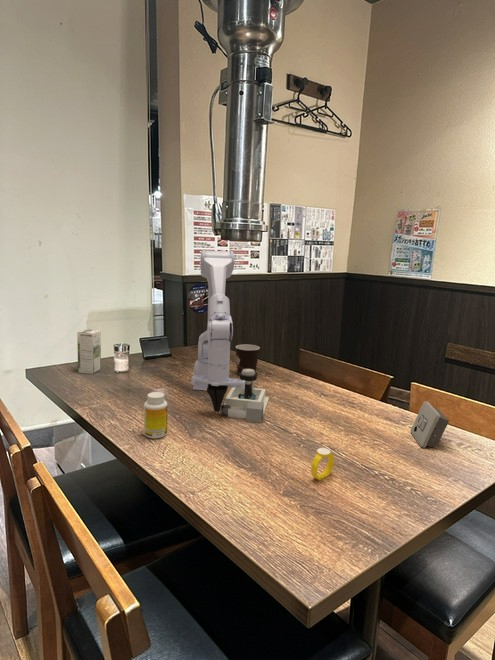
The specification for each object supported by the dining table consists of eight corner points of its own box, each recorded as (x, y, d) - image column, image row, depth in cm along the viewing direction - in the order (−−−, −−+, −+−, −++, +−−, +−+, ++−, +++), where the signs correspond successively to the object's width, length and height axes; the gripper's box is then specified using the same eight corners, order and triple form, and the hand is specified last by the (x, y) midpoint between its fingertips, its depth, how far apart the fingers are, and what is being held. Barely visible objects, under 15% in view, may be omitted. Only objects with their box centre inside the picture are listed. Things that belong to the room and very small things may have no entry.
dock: (216, 418, 117) (216, 404, 116) (230, 394, 135) (230, 383, 134) (260, 423, 115) (261, 409, 114) (268, 398, 133) (269, 386, 132)
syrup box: (86, 368, 155) (84, 328, 152) (101, 369, 154) (100, 329, 151) (77, 373, 149) (76, 331, 146) (93, 374, 148) (92, 333, 145)
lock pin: (219, 416, 118) (220, 407, 117) (222, 412, 120) (222, 404, 120) (250, 419, 117) (251, 410, 116) (252, 416, 119) (252, 407, 119)
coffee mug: (258, 378, 152) (259, 350, 150) (234, 377, 152) (235, 349, 150) (258, 368, 164) (259, 343, 162) (235, 367, 164) (236, 342, 162)
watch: (318, 485, 87) (319, 459, 86) (307, 479, 89) (308, 453, 88) (336, 474, 91) (337, 448, 90) (325, 468, 93) (326, 443, 92)
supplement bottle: (170, 437, 104) (170, 397, 102) (147, 441, 102) (146, 399, 100) (163, 428, 109) (164, 389, 107) (141, 431, 107) (141, 392, 105)
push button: (255, 398, 131) (256, 366, 129) (263, 404, 127) (265, 371, 125) (235, 401, 128) (236, 368, 126) (242, 407, 124) (243, 373, 122)
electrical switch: (409, 432, 114) (417, 399, 112) (429, 435, 114) (437, 402, 112) (421, 449, 105) (430, 413, 103) (442, 452, 104) (451, 416, 102)
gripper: (188, 364, 114) (187, 413, 116) (242, 369, 111) (240, 419, 114) (195, 357, 121) (194, 404, 123) (247, 362, 118) (245, 409, 121)
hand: (217, 410), depth 119 cm, fingers closed
